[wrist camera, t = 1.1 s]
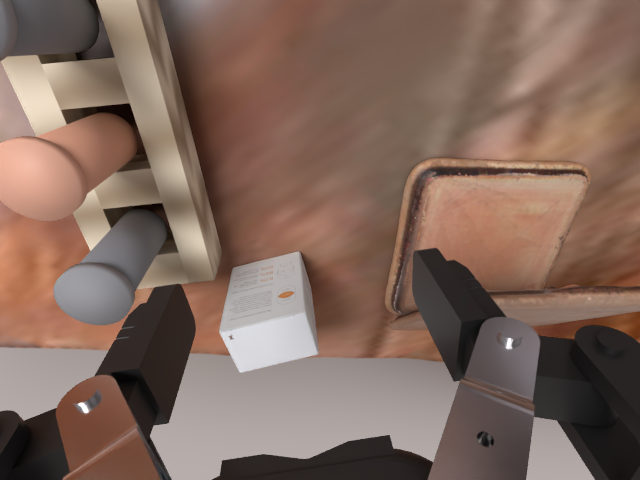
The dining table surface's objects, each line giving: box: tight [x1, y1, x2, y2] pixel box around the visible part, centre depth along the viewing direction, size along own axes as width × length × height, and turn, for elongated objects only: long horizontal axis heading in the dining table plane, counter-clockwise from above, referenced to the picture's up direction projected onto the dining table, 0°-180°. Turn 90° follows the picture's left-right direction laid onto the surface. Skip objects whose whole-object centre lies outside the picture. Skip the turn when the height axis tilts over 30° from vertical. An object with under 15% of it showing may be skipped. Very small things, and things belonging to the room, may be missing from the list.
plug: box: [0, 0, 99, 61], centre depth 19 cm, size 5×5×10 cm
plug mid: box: [0, 112, 138, 221], centre depth 23 cm, size 5×5×10 cm
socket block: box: [1, 0, 222, 289], centre depth 29 cm, size 28×10×5 cm, turn 4°
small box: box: [219, 251, 319, 373], centre depth 36 cm, size 8×6×10 cm
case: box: [385, 158, 640, 330], centre depth 35 cm, size 20×21×16 cm
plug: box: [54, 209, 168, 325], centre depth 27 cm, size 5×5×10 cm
